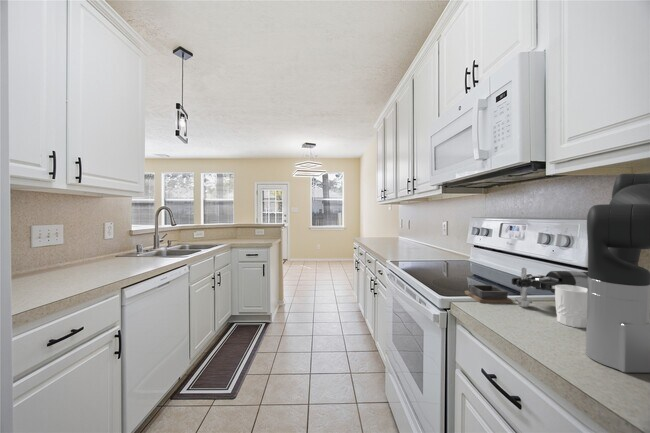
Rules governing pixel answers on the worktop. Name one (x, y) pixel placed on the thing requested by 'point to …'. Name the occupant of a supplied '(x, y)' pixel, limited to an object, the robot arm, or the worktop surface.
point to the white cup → (571, 305)
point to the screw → (523, 292)
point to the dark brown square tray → (488, 294)
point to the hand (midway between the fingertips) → (515, 282)
